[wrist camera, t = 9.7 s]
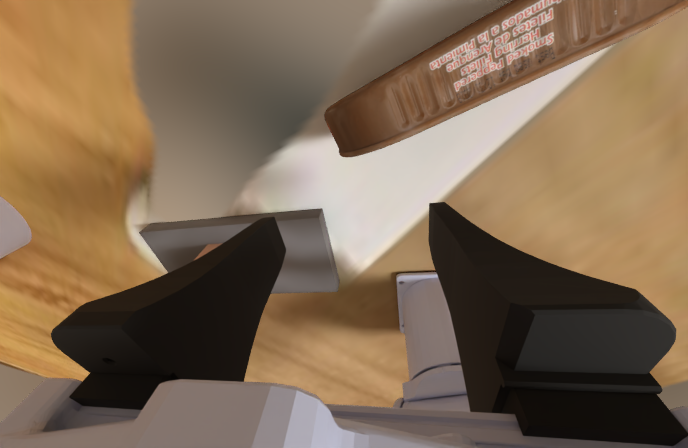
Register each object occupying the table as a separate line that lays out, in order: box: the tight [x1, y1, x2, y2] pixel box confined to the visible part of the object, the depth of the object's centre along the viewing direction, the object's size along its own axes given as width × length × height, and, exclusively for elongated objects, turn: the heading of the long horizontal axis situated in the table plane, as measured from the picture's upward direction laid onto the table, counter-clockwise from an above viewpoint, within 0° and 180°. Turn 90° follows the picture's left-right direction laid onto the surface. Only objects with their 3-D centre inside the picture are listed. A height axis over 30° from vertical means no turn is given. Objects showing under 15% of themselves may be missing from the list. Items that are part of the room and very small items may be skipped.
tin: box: [324, 0, 688, 157], centre depth 12 cm, size 15×3×8 cm, turn 117°
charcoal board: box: [139, 209, 339, 294], centre depth 26 cm, size 9×18×2 cm, turn 99°
